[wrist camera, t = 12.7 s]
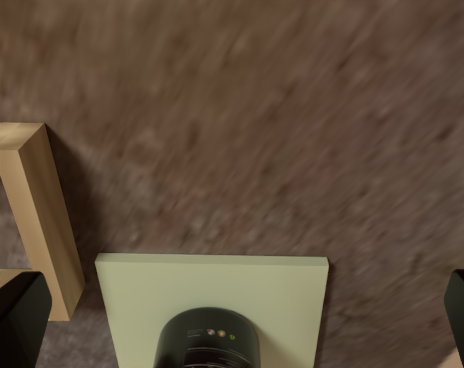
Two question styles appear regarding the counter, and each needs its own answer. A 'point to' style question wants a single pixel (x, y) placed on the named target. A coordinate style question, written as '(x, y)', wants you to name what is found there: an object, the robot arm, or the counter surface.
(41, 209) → the birch collar
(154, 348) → the sage board
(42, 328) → the robot arm
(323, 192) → the counter surface
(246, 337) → the supplement bottle
